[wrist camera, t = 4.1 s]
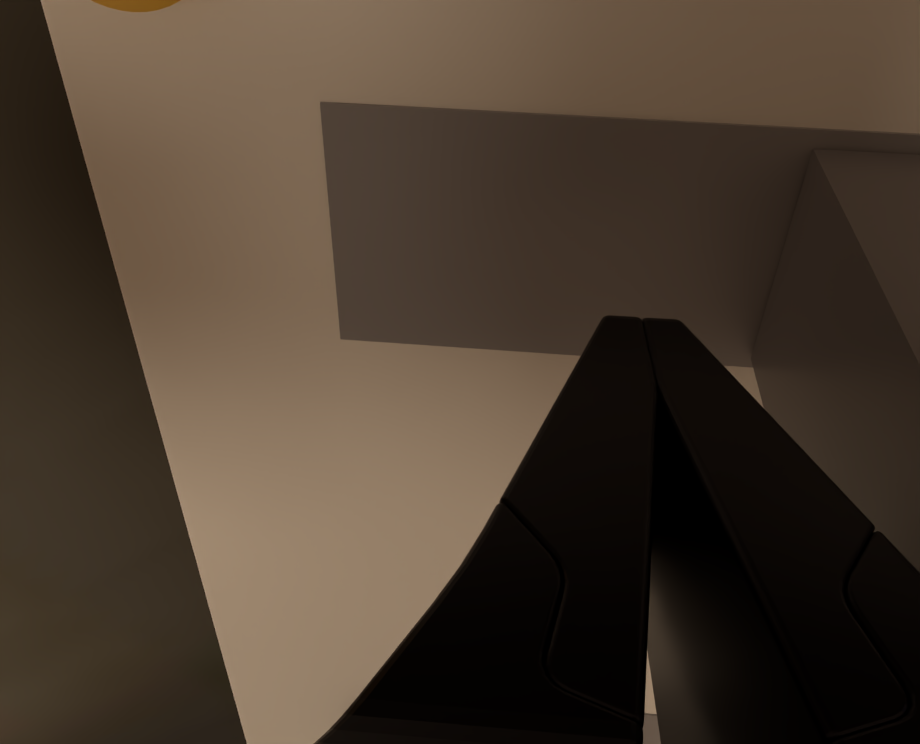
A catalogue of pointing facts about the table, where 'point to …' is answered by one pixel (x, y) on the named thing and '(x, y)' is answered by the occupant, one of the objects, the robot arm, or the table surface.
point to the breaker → (852, 334)
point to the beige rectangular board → (429, 261)
